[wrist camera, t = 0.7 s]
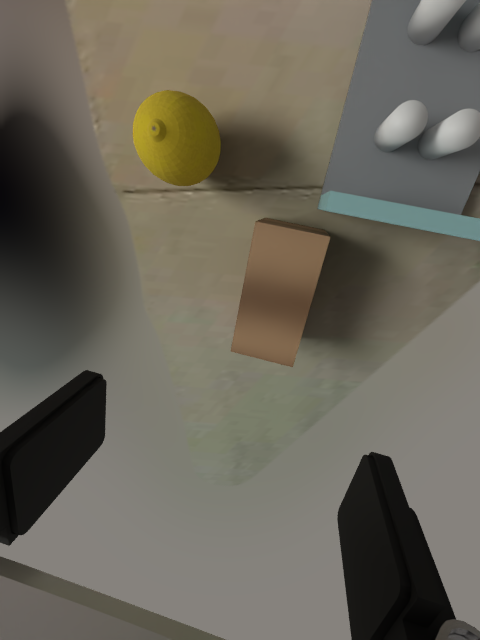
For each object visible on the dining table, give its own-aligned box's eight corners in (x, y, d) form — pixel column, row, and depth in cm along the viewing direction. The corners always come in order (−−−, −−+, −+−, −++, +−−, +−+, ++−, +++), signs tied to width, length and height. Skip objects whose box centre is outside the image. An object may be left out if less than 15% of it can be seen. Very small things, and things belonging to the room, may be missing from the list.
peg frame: (396, -93, 18) (479, -354, 9) (581, -78, 17) (857, -358, 8) (317, 208, 24) (325, 210, 16) (445, 233, 23) (525, 249, 15)
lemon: (245, 152, 24) (219, 129, 16) (198, 203, 26) (157, 202, 19) (197, 93, 23) (148, 41, 16) (153, 150, 25) (91, 128, 18)
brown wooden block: (265, 217, 25) (255, 221, 20) (324, 229, 25) (330, 236, 19) (244, 323, 29) (230, 351, 24) (294, 336, 29) (292, 367, 23)
